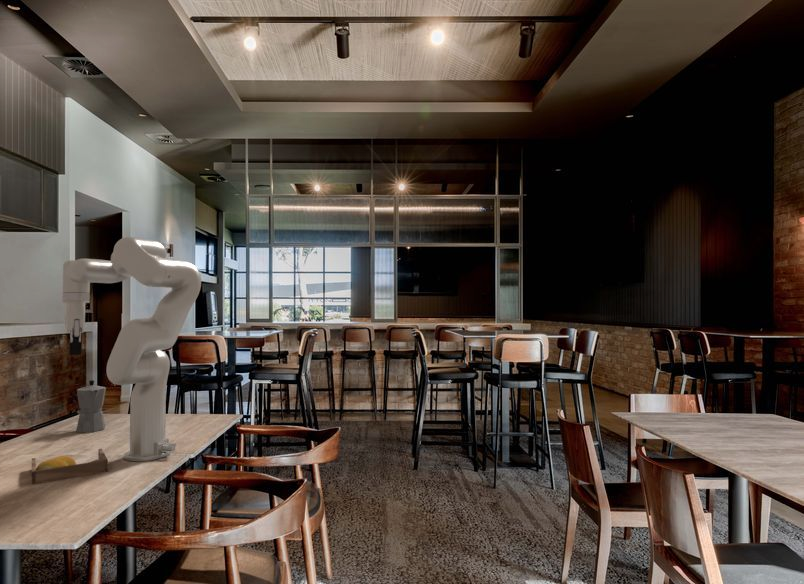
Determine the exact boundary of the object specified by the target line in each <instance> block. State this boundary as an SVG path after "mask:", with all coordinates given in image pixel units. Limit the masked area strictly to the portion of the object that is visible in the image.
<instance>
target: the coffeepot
mask: <svg viewBox="0 0 804 584" xmlns="http://www.w3.org/2000/svg"><path fill="white" fill-rule="evenodd" d="M88 383H89V385H88V384H86V385H85V386H84V387H80V388H78V389H76V394H77V401H78V406H79V407H78V408H80V413H79V415H78V419H77V426H76V432H77V433H80V434H87V433H88V434H89V433H95V432H96V433H97V432H101V431H104V430H105V429H106V424H105V417H104V411H103V406H104V402H105V397H106V396H105V395H106V390H107V386H106V387H105V386H100V385H95V380H92V379H91V380H89V381H88Z"/></svg>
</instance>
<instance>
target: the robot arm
mask: <svg viewBox="0 0 804 584" xmlns="http://www.w3.org/2000/svg"><path fill="white" fill-rule="evenodd" d="M167 253H168V251H167V249H166V247H165V246H164V245H163V244H162V243H160V242H159V241H157V240H154V239H149V238H140V237H134V236H125V237H122V238H121V239H119V240H118V241H117V242H116V243H115V244H114V247H113V252H112V253H111V255H110V260H106V259H98V258H97V259H96V258H79V259H75V260H71V259H70V260H66V261H64V262H63V265H62V294H61V295H62V299H61V302H62V304H65V312H64V313H65V314H64V315H65V316H64V319H65V321H64V333H66V334H69V337H70V339H69V343H68V344H69V345H68V346H69V347H68V349H69V350H68V354H69V355H70V356H80V355H82V334H83V333H84V332H85V323H86V304H90V299H91V297H90V295H91V294H90V291H91V290H90V289H91V286H90V285H91V283H93V284H94V283H97V284H115V283H120V282H123V281H126V280H129V279H131V277H133V279H135V280H136V281H137V282H138V283H139V284H141V285H143V286H146V287H152V288H165V289H166V288H168V289H169V288H170V289H171V290H170V291H169V292H167V293H166V294H165V295H164V296H163V297H162V298H161V299H160V300H159V302H158V304H157V307H156V309H155V311H154V312H153V313H154V314H153V315H152V316H150V317H149V318H148V317H147V318H145V317H144V318H134V319H131V320H130V321H127V323H125V324H124V325H123V327H122V328H121V329H120V330H119V333H118V336H117V339H116V341H115V343H114V346H113V348H112V349H111V353H110V355H109V358H108V360H107V363H106V376H107V378H108V380H109V381H110V383H112V384H114V385H118V386H126V385H133V384H134V386H133V389H132V391H131V394H130V399H129V400H130V402H129V403H130V406H129V407H130V408H129V409H130V410H129V413H130V414H129V450H127V451H126V452H124V453H123V459H124V460H125V461H128V462H129V461H130V462H144V461H153V460H158V459H162V458H165V457H167V456H169V455H170V454H171V452H172V453H173V452H175V451H176V447H177V443H175V442H172V443H170V442H169V440H170V438H166V415H167V414H166V408H167V407H166V406H167V405H166V401H167V384H168V383H167V382H168V377H169V373H170V368H171V367H170V366H171V362H170V358H169V356H168V354H167V353H166V352H165V351H164V350H168V349H170V348H172V347H173V346H174V345H175V344H176V342H177V340H178V337H179V335H180V333H181V331H182V328H183V326H184V324H185V321H186V319H187V317H188V314H189V312H190V310H191V308H192V307H193V306H194V303H195V302H196V300H197V298H198V296H199V294H200V291H201V287H202V277H201V273H200V271H199V269H198V268H197V266H196V265H195V264H193V263H191V262H189V261H186V260H184V259H183V260H182V259H179V258H177V259H176V258H167Z"/></svg>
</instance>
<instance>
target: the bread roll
mask: <svg viewBox="0 0 804 584" xmlns="http://www.w3.org/2000/svg"><path fill="white" fill-rule="evenodd" d="M76 464H77V462H76V460H75V459H74V458H73V457H70V456H67V455H62V456H57V457H54V458H51V459H48V460H44V461H42V462H39V464H38V465H37V466H36V471H37V470H44V469H50V468H57V467H63V466H70V465H76Z"/></svg>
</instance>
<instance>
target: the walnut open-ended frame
mask: <svg viewBox="0 0 804 584" xmlns="http://www.w3.org/2000/svg"><path fill="white" fill-rule="evenodd" d="M97 456H98V459H97V461H90V462H83V463H78V464H77V463H76V465H70V466H63V467H57V468H50V469H44V470H37V471H36V468H37V466H36V457H34V458H33V457H32V458H31V485H35V484H42V483H46V482H53V481H59V480H66V479H72V478H77V477H78V478H79V477H83V476H89V475H95V474H100V473H101V474H102V473H108V470H109V460H108V458H107V456H106V454H105V452H104V450H103V448H98V454H97Z"/></svg>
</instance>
